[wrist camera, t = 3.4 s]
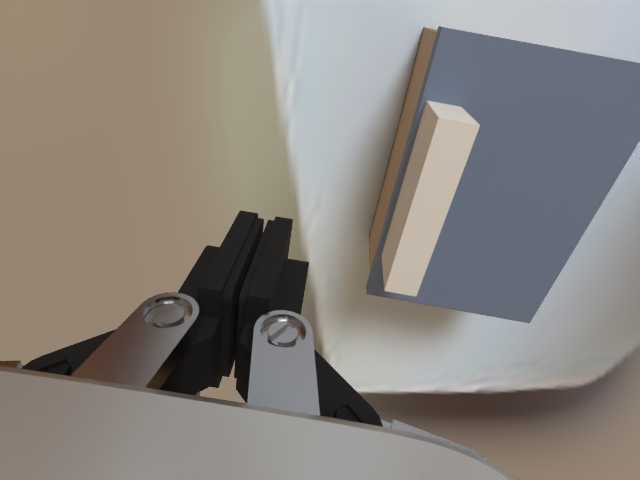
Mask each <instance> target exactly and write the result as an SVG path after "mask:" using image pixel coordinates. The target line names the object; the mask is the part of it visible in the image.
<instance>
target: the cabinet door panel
mask: <svg viewBox="0 0 640 480" xmlns="http://www.w3.org/2000/svg"><path fill="white" fill-rule="evenodd" d="M639 141H640V63H635V62H630V61H625V60H619V59H614V58H608V57H603V56H597V55H592V54H586V53H581V52H575V51H570V50H564V49H559V48H553V47H548V46H542V45H537V44H531V43H526V42H521V41H515V40H510V39H504V38H499V37H493V36H488V35H482V34H477V33H471V32H466V31H460V30H455V29H449V28H444V27H438V30H437V34H436V38H435V41H434V45H433V48H432V52H431V56H430V59H429V63H428V66H427V70H426V74H425V77H424V81H423V84H422V88H421V91H420V95H419V99H418V102H417V106H416V109H415V113H414V117H413V120H412V124H411V127H410V131H409V135H408V138H407V142H406V145H405V149H404V152H403V156H402V160H401V163H400V167H399V170H398V174H397V178H396V181H395V185H394V188H393V192H392V196H391V199H390V203H389V206H388V210H387V214H386V217H385V221H384V224H383V228H382V231H381V235H380V239H379V242H378V246H377V249H376V253H375V257H374V260H373V264H372V267H371V271H370V275H369V278H368V282H367V294H371V295H376V296H382V297H387V298H393V299H398V300H404V301H409V302H415V303H421V304H426V305H432V306H437V307H443V308H448V309H454V310H459V311H465V312H470V313H476V314H481V315H487V316H493V317H498V318H504V319H509V320H515V321H520V322H526V323H530V322H531V320H532V318H533V317H534V315H535V313H536V312H537V310H538V308H539V307H540V305H541V303H542V302H543V300H544V298H545V297H546V295H547V293H548V292H549V290H550V288H551V287H552V285H553V283H554V282H555V280H556V278H557V277H558V275H559V273H560V272H561V270H562V268H563V267H564V265H565V264H566V262H567V260H568V259H569V257H570V255H571V254H572V252H573V250H574V249H575V247H576V245H577V244H578V242H579V240H580V239H581V237H582V235H583V234H584V232H585V230H586V229H587V227H588V225H589V224H590V222H591V220H592V219H593V217H594V215H595V214H596V212H597V211H598V209H599V207H600V206H601V204H602V202H603V201H604V199H605V197H606V196H607V194H608V192H609V191H610V189H611V187H612V186H613V184H614V182H615V181H616V179H617V177H618V176H619V174H620V172H621V171H622V169H623V167H624V166H625V164H626V162H627V161H628V159H629V157H630V156H631V154H632V153H633V151H634V149H635V148H636V146H637V144H638V143H639Z"/></svg>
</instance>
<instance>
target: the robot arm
mask: <svg viewBox="0 0 640 480" xmlns="http://www.w3.org/2000/svg"><path fill="white" fill-rule="evenodd" d="M292 222H293V220H292V219H287V218H281V217H275V220H274V221H272V220H268V222H267V225H266V227H265V230H264V232H263V224H264V219H261V218H258V214H257V213H252V212H245V211H240V212H239V213H238V215H237V217H236V219H235V221H234V223H233V224H232V226H231V228H230V230H229V232H228V233H227V235H226V237H225V239H224V241H223V242H222V244H221V246H220V247H214V246H206V248H205V249H204V251H203V252H202V254H201V256H200V257H199V259H198V260H197V262H196V264H195V265H194V267H193V268H192V270H191V272H190V273H189V275H188V277H187V278H186V280H185V281H184V283H183V285H182V286H181V288H180V290H179V291H178V293H176V292H173V293H162V294H158V295H155V296H153V297H151V298H148V299H147V300H146V301H144V302H143V303H142V304H141V305H140V306H139V307H138V308H137V309H136V310H135V311H134V312H133V313H132V314H131V315H130V316H129V317H128V318H127V319H126V320H125V321H124V322H123V323H122V324H121V325H120V326H119V327H118V328H117V329H116V330H113V331H110V332H107V333H105V334H102V335H99V336H96V337H93V338H91V339H88V340H85V341H82V342H80V343H77V344H74V345H71V346H68V347H65V348H63V349H60V350H57V351H54V352H52V353H49V354H46V355H43V356H41V357H39V358H37V359H34V360H32V361H30V362H29V363H28V364H26V365H24V366H22V363H21V361H0V480H519V479H518V478H516V477H515V476H514V475H512V474H511V473H509V472H508V471H506V470H504V469H503V468H501V467H500V466H498V465H496V464H494V463H492V462H490V461H488V460H487V459H485V458H484V457H483V456H482V455H481V454H479V453H477V452H476V451H474V450H472V449H470V448H468V447H465V446H462V445H460V444H457V443H454V442H452V441H449V440H447V439H444V438H441V437H438V436H436V435H433V434H430V433H428V432H425V431H423V430H420V429H417V428H415V427H412V426H410V425H407V424H404V423H402V422H399V421H396V420H393V421H392V424H390V423H388V422H386V421H383V420H380V417H379V415H378V414H377V413H376V412H375V410H374V409H373V408H372V407H371V406H370V405H369V404H368V403H367V402H366V401H365V400H364V399H363V398H362V397H361V396H360V395H359V394H358V393H357V392H356V391H355V390H354V389H353V388H352V387H351V386H350V385H349V384H348V383H347V382H346V381H345V380H344V379H343V378H342V377H341V376H340V375H339V374H338V373H337V372H336V371H335V370H334V369H333V367H332V366H331V365H330V364H329V363H328V362H327V361H326V360H325V359H324V358H323V357H322V356H320V354H319V353H318V352H316V350H314V344H313V332H312V328H311V326H310V324H309V323H308V321H307V320H306V319H305V318H304V317H302V316H301V309H302V303H303V297H304V290H305V284H306V278H307V272H308V266H309V262H305V261H298V260H293V259H288V252H289V244H290V237H291V230H292ZM234 361H235V372H234V378H237V382H236V390H237V391H238V392H239V394H240V395H241V396H242V398H243V399H244V401H245V402H246V403H247V404H245V403H239V402H232V401H226V400H220V399H214V398H207V397H201V396H200V391H202V390H204V389H206V388H208V387H216V388H218V387H219V384H220V382H221V379H222V376H226V377H229V375H230V373H231V370H232V367H233V364H234Z"/></svg>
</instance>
